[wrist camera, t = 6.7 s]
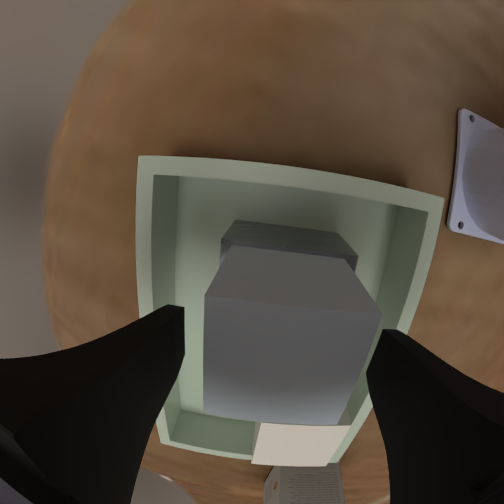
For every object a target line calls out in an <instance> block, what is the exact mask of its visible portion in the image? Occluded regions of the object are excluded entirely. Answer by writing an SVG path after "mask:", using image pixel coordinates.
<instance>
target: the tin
mask: <svg viewBox="0 0 504 504" xmlns="http://www.w3.org/2000/svg"><path fill="white" fill-rule="evenodd" d="M231 245H236V246H244V247H253V248H261V249H269V250H277V251H286V252H294V253H302V254H310V255H318V256H326V257H334V258H342V259H345V260H346V262H347V263H348V264H349V266H350V267H351V269H352V270H353V271H354V273H355V270H356V266H357V261H358V257H359V255H358V254H357V253H356V252H355V251H354V250H353V249H352V248H351V247H350V245H349V244H348V243H347V242H346V241H345V240H344V239H343V238H342V237H341V236H340V235H339V234H338V233H335V232H328V231H321V230H314V229H307V228H299V227H292V226H284V225H276V224H268V223H260V222H252V221H243V220H235V221H234V222H233V223H232V225H231V226H230V227H229V229H228V230H227V231H226V233H225V234H224V235H223V237H222V238H221V249H220V263H219V267H220V265H221V264H222V262H223V260H224V258H225V256H226V254H227V253H228V251H229V249H230V247H231Z"/></svg>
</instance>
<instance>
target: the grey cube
mask: <svg viewBox="0 0 504 504" xmlns="http://www.w3.org/2000/svg"><path fill="white" fill-rule="evenodd" d="M381 317H382V313H381V311H380V309H379V308H378V306H377V305H376V303H375V302H374V300H373V299H372V297H371V296H370V295H369V293H368V292H367V290H366V289H365V287H364V286H363V284H362V283H361V281H360V280H359V278H358V277H357V276H356V274H355V273H354V271H353V270H352V269H351V267H350V266H349V264H348V263H347V262H346V260H345V259H342V258H334V257H326V256H318V255H310V254H302V253H294V252H286V251H277V250H269V249H261V248H253V247H244V246H236V245H231V247H230V249H229V251H228V253H227V254H226V256H225V258H224V260H223V262H222V264H221V265H220V267H219V269H218V271H217V273H216V275H215V277H214V278H213V280H212V282H211V284H210V286H209V288H208V290H207V291H206V293H205V295H204V330H203V413H205V414H210V415H216V416H222V417H228V418H235V419H242V420H251V421H260V422H270V423H283V424H302V425H337V423H338V421H339V419H340V417H341V415H342V413H343V411H344V409H345V407H346V405H347V403H348V401H349V398H350V396H351V394H352V392H353V390H354V387H355V385H356V383H357V381H358V378H359V376H360V374H361V371H362V369H363V366H364V364H365V361H366V359H367V356H368V354H369V351H370V349H371V346H372V343H373V340H374V338H375V335H376V332H377V329H378V326H379V323H380V320H381Z"/></svg>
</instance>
